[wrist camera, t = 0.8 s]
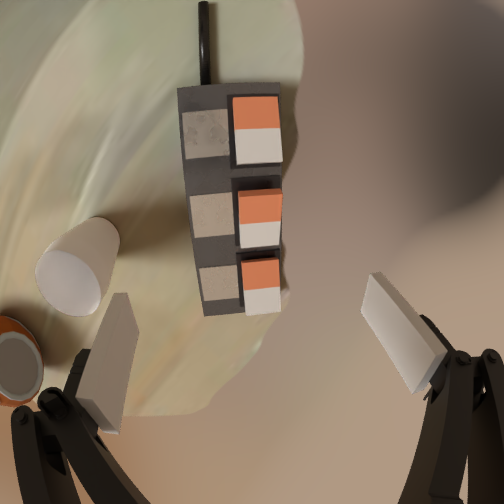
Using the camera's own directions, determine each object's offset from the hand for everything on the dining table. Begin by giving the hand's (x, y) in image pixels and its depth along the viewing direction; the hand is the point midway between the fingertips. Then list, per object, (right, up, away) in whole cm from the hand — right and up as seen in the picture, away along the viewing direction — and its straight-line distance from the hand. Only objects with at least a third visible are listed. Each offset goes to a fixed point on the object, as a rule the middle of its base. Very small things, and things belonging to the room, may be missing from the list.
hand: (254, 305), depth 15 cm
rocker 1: (0, +15, +13) cm, 20 cm away
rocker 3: (+1, -1, +22) cm, 22 cm away
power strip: (-3, +14, +19) cm, 24 cm away
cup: (-22, +5, +21) cm, 31 cm away
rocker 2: (+1, +7, +17) cm, 19 cm away
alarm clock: (-51, -16, +28) cm, 60 cm away
